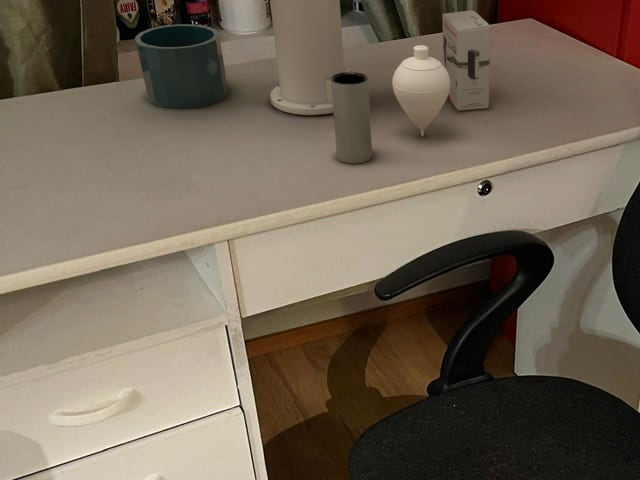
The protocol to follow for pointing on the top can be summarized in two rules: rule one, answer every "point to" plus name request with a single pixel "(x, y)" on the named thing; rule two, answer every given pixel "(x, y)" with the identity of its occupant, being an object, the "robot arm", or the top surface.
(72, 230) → the top surface
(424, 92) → the spinning top
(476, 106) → the ink box
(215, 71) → the pot
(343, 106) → the gray cylinder
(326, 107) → the robot arm
